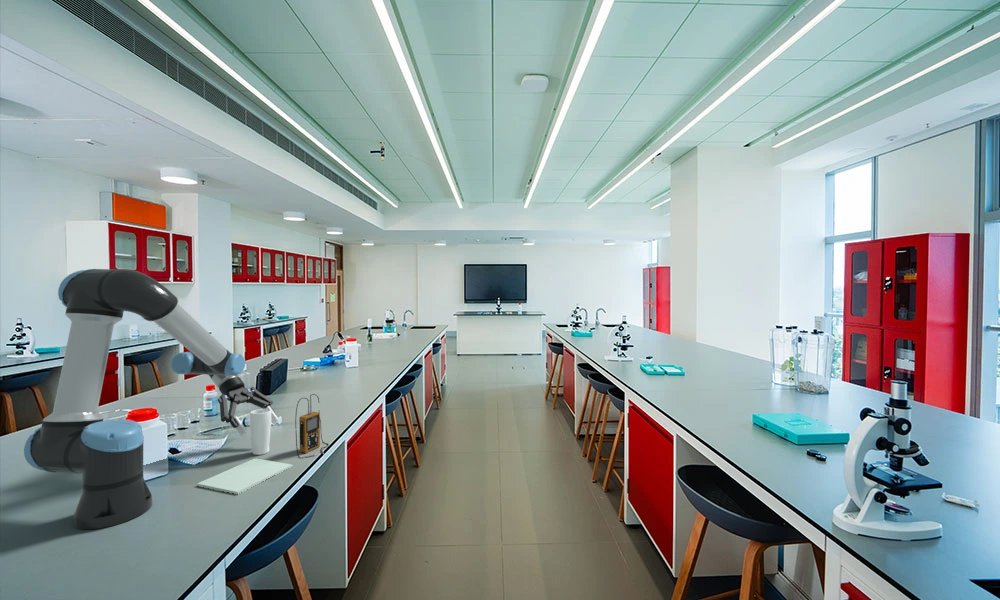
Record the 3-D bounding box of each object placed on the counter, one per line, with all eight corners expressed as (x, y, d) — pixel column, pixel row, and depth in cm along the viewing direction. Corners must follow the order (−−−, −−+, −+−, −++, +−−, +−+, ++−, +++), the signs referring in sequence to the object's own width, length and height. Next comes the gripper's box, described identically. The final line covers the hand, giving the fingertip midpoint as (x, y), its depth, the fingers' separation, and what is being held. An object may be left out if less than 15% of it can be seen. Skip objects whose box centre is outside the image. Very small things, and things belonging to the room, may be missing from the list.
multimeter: (314, 460, 146) (313, 402, 145) (291, 456, 149) (290, 400, 148) (343, 445, 159) (342, 392, 159) (321, 442, 163) (321, 390, 162)
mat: (237, 494, 121) (237, 491, 121) (197, 486, 126) (197, 483, 126) (292, 467, 140) (292, 464, 140) (255, 460, 145) (255, 458, 145)
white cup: (275, 449, 155) (275, 408, 155) (263, 456, 148) (263, 414, 148) (258, 448, 156) (258, 408, 156) (245, 455, 149) (245, 413, 149)
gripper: (252, 382, 170) (282, 423, 166) (190, 397, 146) (223, 445, 142) (262, 369, 168) (293, 411, 164) (201, 383, 145) (235, 432, 140)
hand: (260, 427), depth 153 cm, fingers open, 13 cm apart
